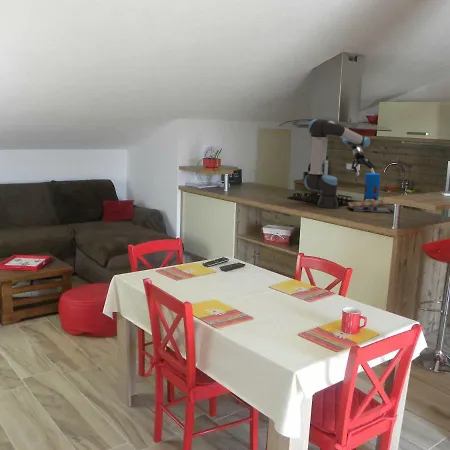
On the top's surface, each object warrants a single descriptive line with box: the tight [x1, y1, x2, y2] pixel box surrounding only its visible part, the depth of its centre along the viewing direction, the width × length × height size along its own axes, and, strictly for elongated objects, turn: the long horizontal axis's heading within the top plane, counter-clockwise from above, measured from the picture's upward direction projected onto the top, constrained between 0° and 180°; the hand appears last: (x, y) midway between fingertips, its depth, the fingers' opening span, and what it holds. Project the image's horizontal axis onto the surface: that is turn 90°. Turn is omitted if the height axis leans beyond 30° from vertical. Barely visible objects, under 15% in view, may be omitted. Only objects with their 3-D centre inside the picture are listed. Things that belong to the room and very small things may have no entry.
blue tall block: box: [363, 172, 381, 208], centre depth 391 cm, size 11×11×25 cm
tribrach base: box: [351, 207, 392, 214], centre depth 375 cm, size 26×14×4 cm, turn 84°
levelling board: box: [347, 199, 394, 209], centre depth 374 cm, size 32×16×3 cm, turn 84°
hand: (366, 175), depth 399 cm, fingers open, 13 cm apart
